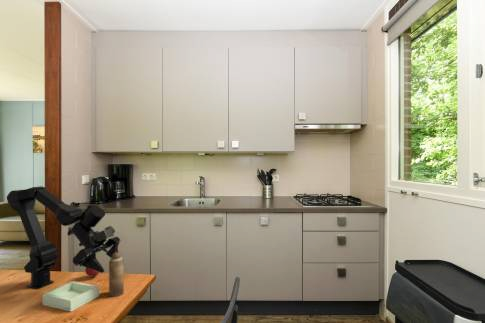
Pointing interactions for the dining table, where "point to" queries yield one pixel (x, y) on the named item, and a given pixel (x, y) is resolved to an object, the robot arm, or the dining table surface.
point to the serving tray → (70, 296)
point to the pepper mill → (116, 275)
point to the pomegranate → (91, 272)
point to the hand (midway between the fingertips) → (112, 267)
